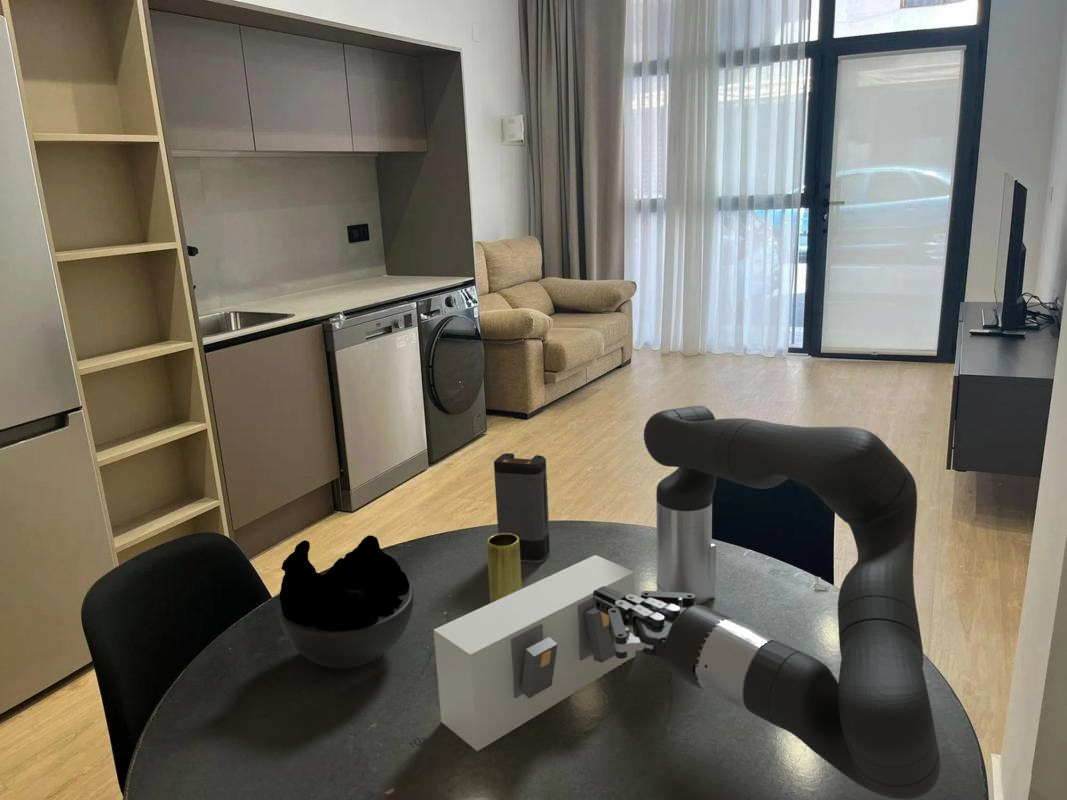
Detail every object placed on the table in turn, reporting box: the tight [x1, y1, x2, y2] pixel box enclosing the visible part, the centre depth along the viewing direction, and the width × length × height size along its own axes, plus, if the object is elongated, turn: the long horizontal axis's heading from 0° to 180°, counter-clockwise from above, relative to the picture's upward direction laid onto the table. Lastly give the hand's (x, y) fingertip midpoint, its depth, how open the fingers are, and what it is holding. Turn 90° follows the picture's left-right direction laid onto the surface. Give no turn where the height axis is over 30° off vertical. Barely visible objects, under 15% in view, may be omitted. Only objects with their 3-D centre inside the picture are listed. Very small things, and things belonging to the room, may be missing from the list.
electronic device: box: [493, 452, 551, 564], centre depth 151 cm, size 9×6×20 cm, turn 71°
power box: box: [433, 554, 636, 752], centre depth 111 cm, size 8×30×14 cm, turn 131°
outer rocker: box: [521, 637, 557, 698], centre depth 102 cm, size 2×4×7 cm, turn 131°
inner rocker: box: [585, 607, 615, 663], centre depth 109 cm, size 2×4×7 cm, turn 131°
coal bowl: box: [278, 534, 415, 669], centre depth 120 cm, size 20×20×19 cm
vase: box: [486, 533, 523, 604], centre depth 130 cm, size 6×6×14 cm
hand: (597, 595), depth 90 cm, fingers closed
